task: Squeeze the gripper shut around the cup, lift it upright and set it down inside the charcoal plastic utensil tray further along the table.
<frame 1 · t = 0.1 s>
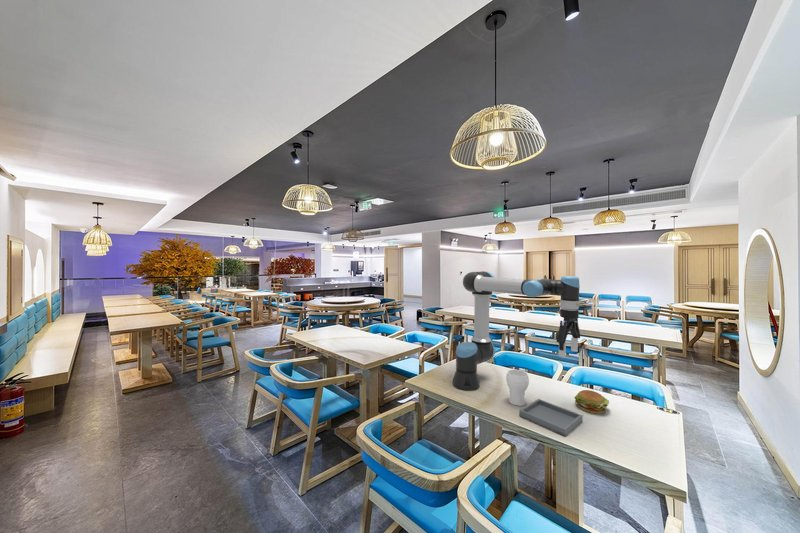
hand: (568, 354, 142), 28 cm above the table, fingers open, 13 cm apart
cup: (516, 402, 152), on the table
tray: (550, 419, 136), on the table
food: (591, 409, 146), on the table
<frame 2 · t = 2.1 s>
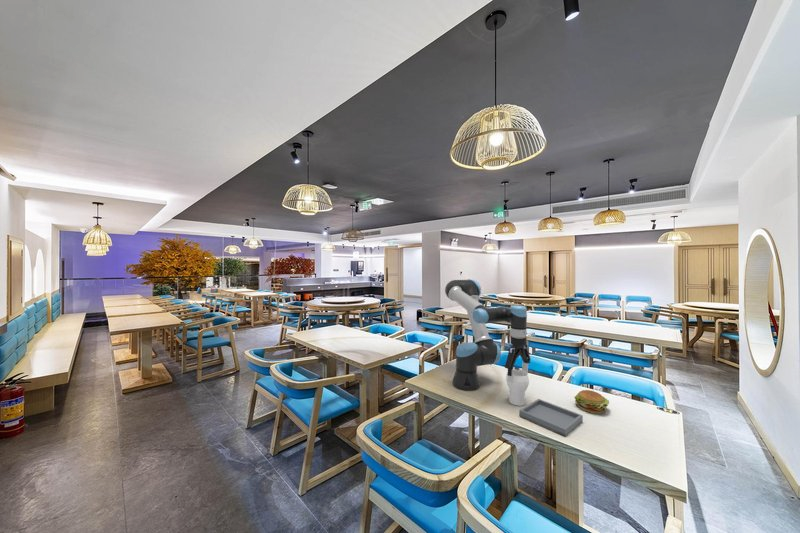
hand: (518, 378, 151), 12 cm above the table, fingers open, 13 cm apart
nothing on the table moved.
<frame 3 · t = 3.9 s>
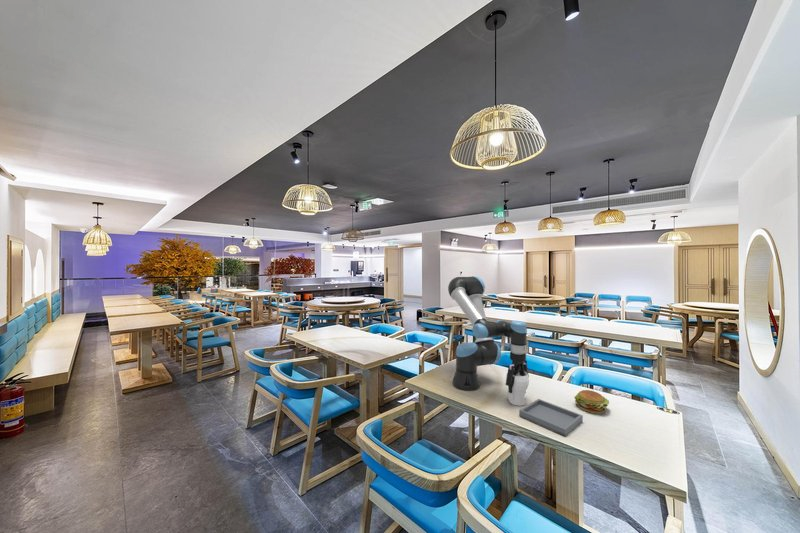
hand: (517, 395, 152), 3 cm above the table, fingers closed on cup, 10 cm apart
cup: (517, 402, 152), on the table, touching gripper
everything else where it was.
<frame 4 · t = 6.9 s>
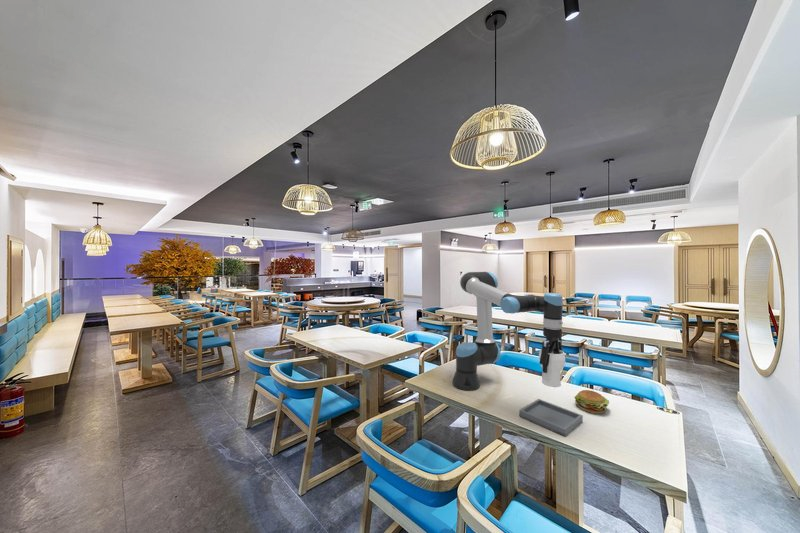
hand: (551, 376, 136), 20 cm above the table, fingers closed on cup, 10 cm apart
cup: (551, 384, 136), point 16 cm above the table, touching gripper
everything else where it was.
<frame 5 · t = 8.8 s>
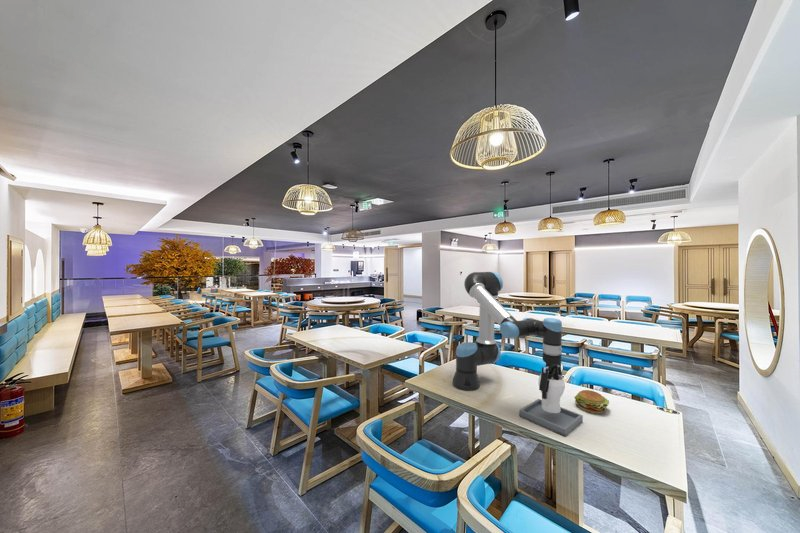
hand: (550, 401, 136), 8 cm above the table, fingers closed on cup, 10 cm apart
cup: (550, 409, 136), point 5 cm above the table, touching gripper
everything else where it was.
when the fingers open (6 cm above the table, at t = 10.3 s): cup drops 1 cm, resting on tray.
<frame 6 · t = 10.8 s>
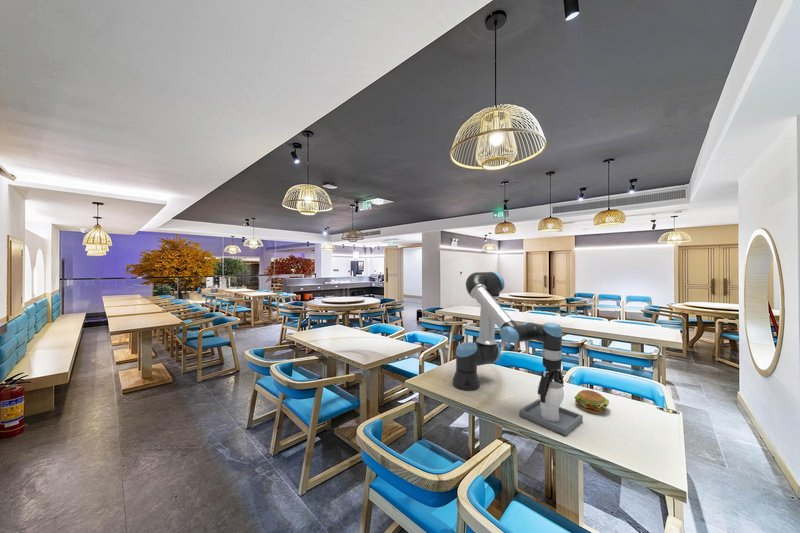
hand: (550, 404, 136), 7 cm above the table, fingers open, 13 cm apart
cup: (549, 417, 136), point 1 cm above the table, touching tray
everything else where it was.
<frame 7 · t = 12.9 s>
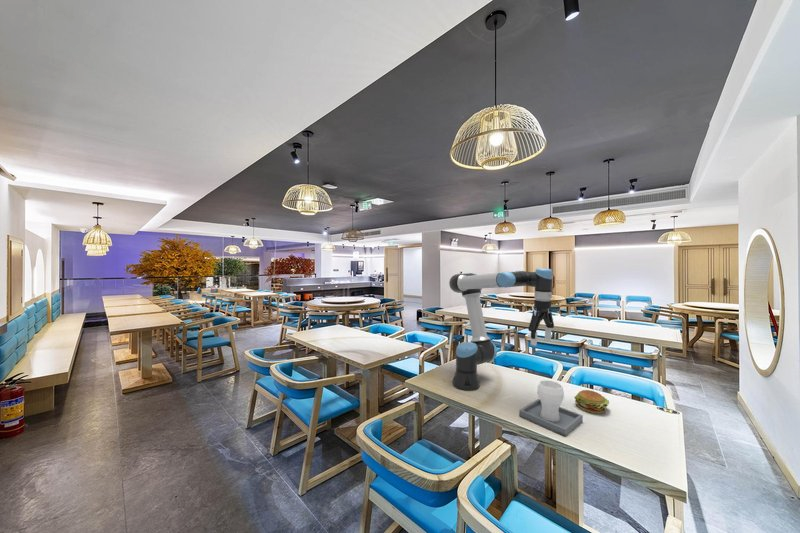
hand: (540, 342, 148), 31 cm above the table, fingers open, 13 cm apart
nothing on the table moved.
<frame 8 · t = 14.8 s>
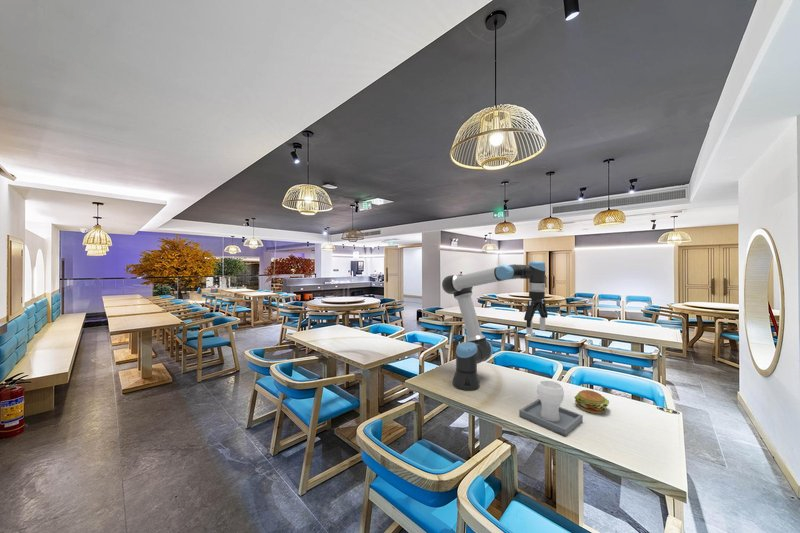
hand: (535, 331, 156), 35 cm above the table, fingers open, 13 cm apart
nothing on the table moved.
at the end: cup inside the target area on the tray (0.4 cm from its centre), point 0.8 cm above the tray's base; cup tilted 0°; the gripper is holding nothing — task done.
